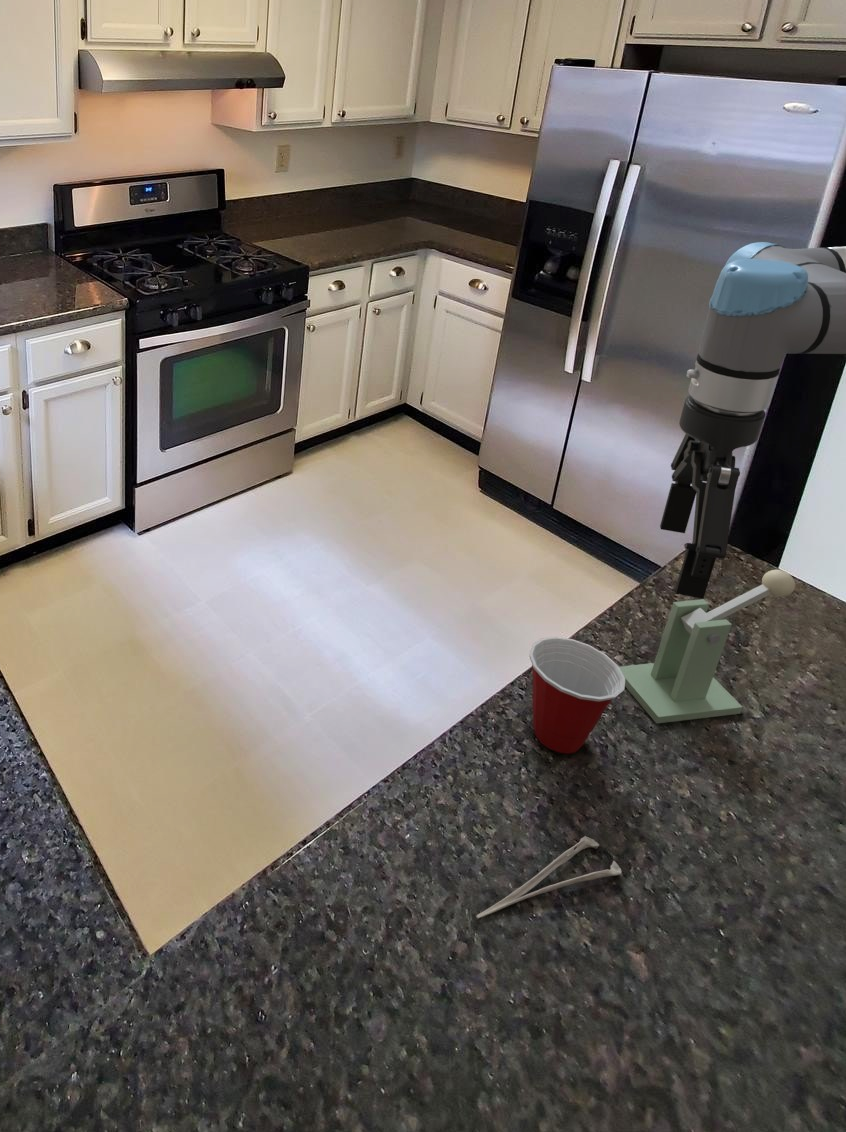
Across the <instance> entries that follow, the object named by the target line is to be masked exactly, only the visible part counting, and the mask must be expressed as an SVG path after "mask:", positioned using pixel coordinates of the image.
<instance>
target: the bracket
mask: <svg viewBox="0 0 846 1132" xmlns="http://www.w3.org/2000/svg"><path fill="white" fill-rule="evenodd" d="M709 606H710V603H709V602H708V601H707V600H706V599H705V598H704V599H702V598H699V599H690V600H681V601H680V600H679V601H673V602H672V606H671V609H670V611H669V615H668V617H667V621H666V624H665V627H664V630H663V634H662V637H661V640H660V643H659V647H658V650H657V652H656V655H655V660H654V662H649V663H639V664H632V665H623V666H621V665H620V666H619V668H620V670H621V671H622V673H623V675H624V677H625V689H627V691H628V692H629V693H630V694H631V696H633V698H634V699H635V700H636V702H637V703H639V705H640V706H641V707H642V709H643V710H644V711H645V712H646V713H647V715H648V716H649V717H650V718H651V719H652V720H653V722H654V723H655V724H657V725H658V724H664V723H665V724H666V723H674V722H683V721H690V720H698V719H707V718H715V717H716V718H717V717H724V716H732V715H741V713H742V711H743V706H742V705H741V704H740V703H739V701H738V700H737V699H736V698H735V697H734V696H732V694H731V693H730V692H729V691H728V690H727V689H726V688H725V687H724V686H722V684H721V683H720V682H719V681H718V680H717V679H716V678H715V677H714V676H715V673H716V670H717V667H718V665H719V661H720V659H721V656H722V654H723V651H724V649H725V645H726V643H727V640H728V638H729V635H730V631H731V629H732V626H733V624H732V623H731V622H730V621H729V620H728V619H721V620H716V621H707V622H697V623H695V624H694V627H693V630H692V633H691V634H690V633H689V632H688V631H687V630H686V629H685V627H684V625H683V622H682V619H681V617H683V616H685V615H687V614H689V613H691V612H693V611H695V610H697V609H699V608H701V609H702V610H704V611H705V612H706V613H707V612H708V609H709Z"/></svg>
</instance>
